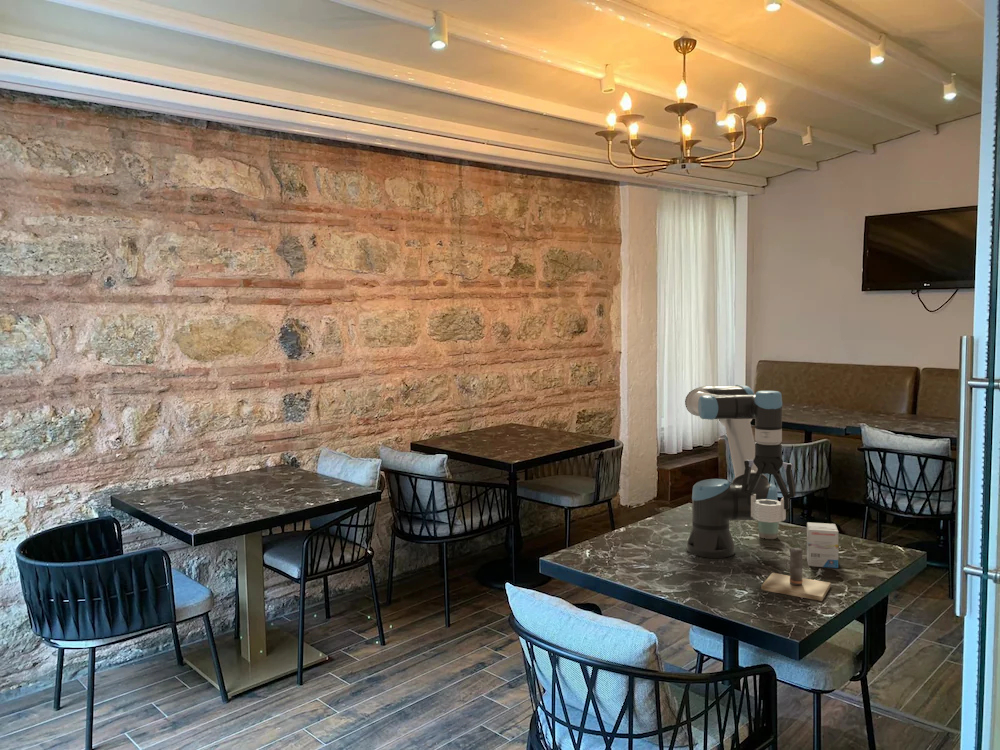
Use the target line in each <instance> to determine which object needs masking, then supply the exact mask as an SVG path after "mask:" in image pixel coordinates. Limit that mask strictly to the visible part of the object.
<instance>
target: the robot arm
mask: <svg viewBox="0 0 1000 750" xmlns="http://www.w3.org/2000/svg"><path fill="white" fill-rule="evenodd" d="M782 396H783V395H782V393H781V392H780V391H778V390H758V391H756V392H754V391H753V390H752V388H751V387H750V386H748V385H741V384H735V385H703V386H699V387H696V388H694V389H692V390H690V391H689V392H688V393H687V395H686V397H685V399H684V405H685V408H686V410H687V411H688V412H689V413H690V414H691V415H694V416H696V417H699V418H700V419H702V420H708V421H709V420H710V421H711V420H712V421H713V420H719V422H720V424H721V425H722V426H724V427H725V431H726V437H727V441H728V447H729V452H730V457H731V464H732V467H733V473H734V478H733V479H732V481H731V483H730V480H728V479H725V478H709V479H702V480H699V481H697V482H696V483H695V484H694V485H693V486H692V492H691V493H692V495H691V500H692V501H691V503H692V508H691V509H692V512H691V514H692V520H691V521H692V525H691V526H692V527H691V530H690V533H689V536H688V538H687V542H686V550H687V552H688V553H690V555H694V556H697V557H701V558H708V559H709V558H710V559H722V558H724V559H725V558H728V557H731V556H733V555H734V554H735V553H736V548H735V547H736V545H735V543H734V539H733V536H732V533H731V530H730V521H756V520H755V519H753V502H754V501H755V500H760V499H769V500H778V488H777V486H776V484H775V483H772V482H771V483H769V479H768V477H767V476H766V474H768V475H773V477H774V479H775V481H776V483H777V485H778V487H779V490H780V493H781V495H782V498H781V499H780V502H781V522H784V521H785V520H786V519H787V518H786V517H787V516H786V513H787V512H786V511H787V510H789V509H790V499H792V498H793V499H794V497H795V496H797V491H796V486H795V485H796V484H795V480H794V474H793V468H794V464H793V463H792V462H790V463H788V462H784V460H783V453H782V451H783V444H781V443H782V441H783V429H782V428H783V404H784V403H783V397H782ZM753 420H754V422H755V423H754V425H755V427H754V434H753V429H752V424H751V422H752V421H753ZM755 442H756V443H755ZM782 467H783V469H784V470H785V476H786V481H787V482H786V483H787V485H786V483H785V481H784V479H783V477H782V473H781V471H780V469H781V468H782ZM787 487H788V488H787Z"/></svg>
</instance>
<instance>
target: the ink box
mask: <svg viewBox="0 0 1000 750" xmlns="http://www.w3.org/2000/svg"><path fill="white" fill-rule="evenodd" d="M839 532H840V531H839V530H838V527H837V525H836V523H828V522H827V523H824V522H809V521H808V522H806V560H807V565H808V567H817V568H830V569H831V568H832V569H839Z"/></svg>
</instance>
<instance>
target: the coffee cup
mask: <svg viewBox="0 0 1000 750" xmlns="http://www.w3.org/2000/svg"><path fill="white" fill-rule="evenodd" d="M779 525H780V522H772V523H769V522H762V521H757V527H758V529H757V530H758V535H759V538H761V539H764V538H765V539H766V540H775V539H777V538H778V532H779Z"/></svg>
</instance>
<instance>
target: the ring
mask: <svg viewBox="0 0 1000 750" xmlns="http://www.w3.org/2000/svg"><path fill="white" fill-rule="evenodd" d="M753 519H755V520H754V521H757V522H758V521H762V522H769V523H772V522H779V523H781V522H782V521H781V500H780V501H779V500H778V499H777V500H769V499H760V500H755V501H754V502H753Z"/></svg>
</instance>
